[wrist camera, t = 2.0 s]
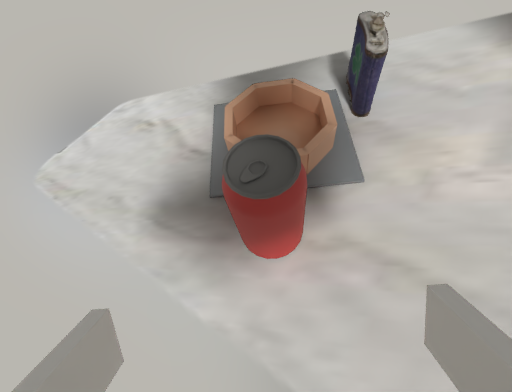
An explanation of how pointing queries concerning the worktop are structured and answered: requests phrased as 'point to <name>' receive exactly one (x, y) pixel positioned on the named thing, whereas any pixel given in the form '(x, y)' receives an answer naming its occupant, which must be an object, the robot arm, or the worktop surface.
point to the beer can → (266, 194)
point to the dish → (284, 117)
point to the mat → (323, 174)
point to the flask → (366, 60)
